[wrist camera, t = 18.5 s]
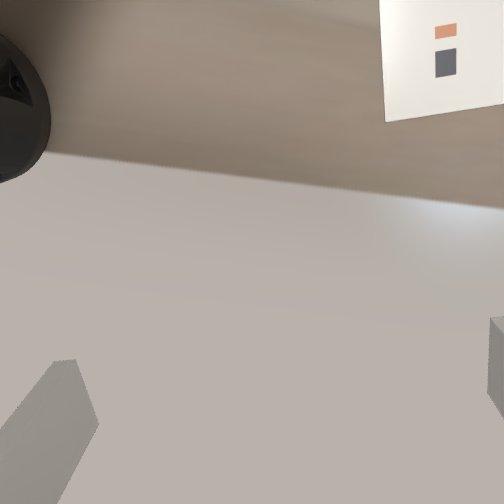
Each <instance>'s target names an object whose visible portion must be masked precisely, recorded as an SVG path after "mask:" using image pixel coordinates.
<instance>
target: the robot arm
mask: <svg viewBox="0 0 504 504" xmlns="http://www.w3.org/2000/svg"><path fill="white" fill-rule="evenodd" d="M49 132H50V109H49V104H48V99H47V95H46V92H45V89H44V87H43V84H42V82H41V80H40V78H39V76H38V74H37V72H36V71H35V69H34V67H33V66H32V64H31V63H30V62H29V60H28V59H27V58H26V57H25V55H24V54H23V53H22V52H21V51H20V50H19V49H18V48H17V47H16V46H15V45H14V44H13V43H11V42H10V41H9V40H8V39H6V38H5V37H3V36H2V35H0V183H2V182H5V181H8V180H10V179H13V178H16V177H18V176H20V175H22V174H23V173H25V172H26V171H28V170H29V169H30V168H31V167H33V165H34V164H35V163H36V162H37V161H38V160H39V158H40V156H41V155H42V153H43V151H44V149H45V147H46V144H47V141H48V137H49ZM487 393H488V394H489V396H490V398H491V399H492V401H493V402H494V404H495V405H496V407H497V409H498V410H499V412H500V413H501V415H502V417H503V418H504V316H503V317H494V318H490V335H489V363H488V390H487ZM98 425H99V423H98V420H97V417H96V415H95V412H94V409H93V406H92V403H91V401H90V398H89V395H88V392H87V390H86V387H85V384H84V381H83V379H82V376H81V373H80V370H79V368H78V365H77V362H76V360H66V361H55V362H53V364H52V365H51V366H50V367H49V369H48V370H47V371H46V372H45V374H44V375H43V376H42V377H41V379H40V380H39V381H38V382H37V384H36V385H35V386H34V387H33V389H32V390H31V391H30V393H29V394H28V395H27V396H26V398H25V399H24V400H23V401H22V402H21V404H20V405H19V406H18V407H17V409H16V410H15V411H14V412H13V414H12V415H11V416H10V418H9V419H8V420H7V421H6V423H5V424H4V425H3V426H2V427H1V429H0V504H57V503H58V501H59V499H60V497H61V495H62V493H63V491H64V490H65V488H66V486H67V484H68V482H69V480H70V478H71V476H72V474H73V472H74V471H75V469H76V467H77V465H78V463H79V461H80V459H81V457H82V455H83V454H84V452H85V450H86V448H87V446H88V444H89V442H90V440H91V438H92V437H93V435H94V433H95V431H96V429H97V427H98Z"/></svg>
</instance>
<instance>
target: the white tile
mask: <svg viewBox="0 0 504 504" xmlns="http://www.w3.org/2000/svg"><path fill="white" fill-rule="evenodd" d="M379 9H380V29H381V48H382V68H383V87H384V107H385V122H389V121H396V120H402V119H408V118H415V117H421V116H428V115H434V114H440V113H447V112H453V111H460V110H466V109H473V108H479V107H485V106H492V105H498V104H504V0H379Z"/></svg>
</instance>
